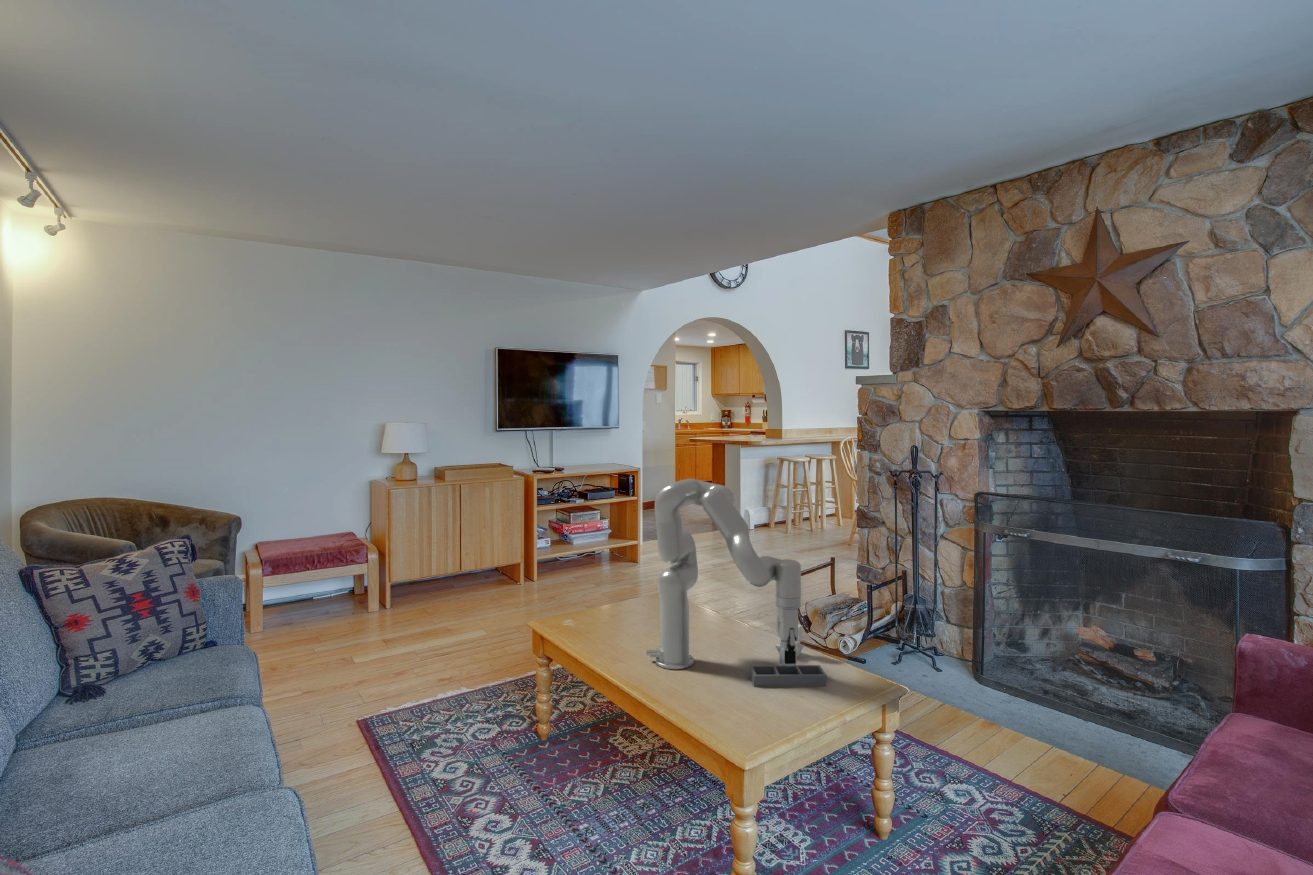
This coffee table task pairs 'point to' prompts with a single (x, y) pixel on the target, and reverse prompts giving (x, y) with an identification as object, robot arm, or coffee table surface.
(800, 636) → the figurine
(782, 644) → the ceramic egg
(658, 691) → the coffee table surface
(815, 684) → the grey compartment tray
